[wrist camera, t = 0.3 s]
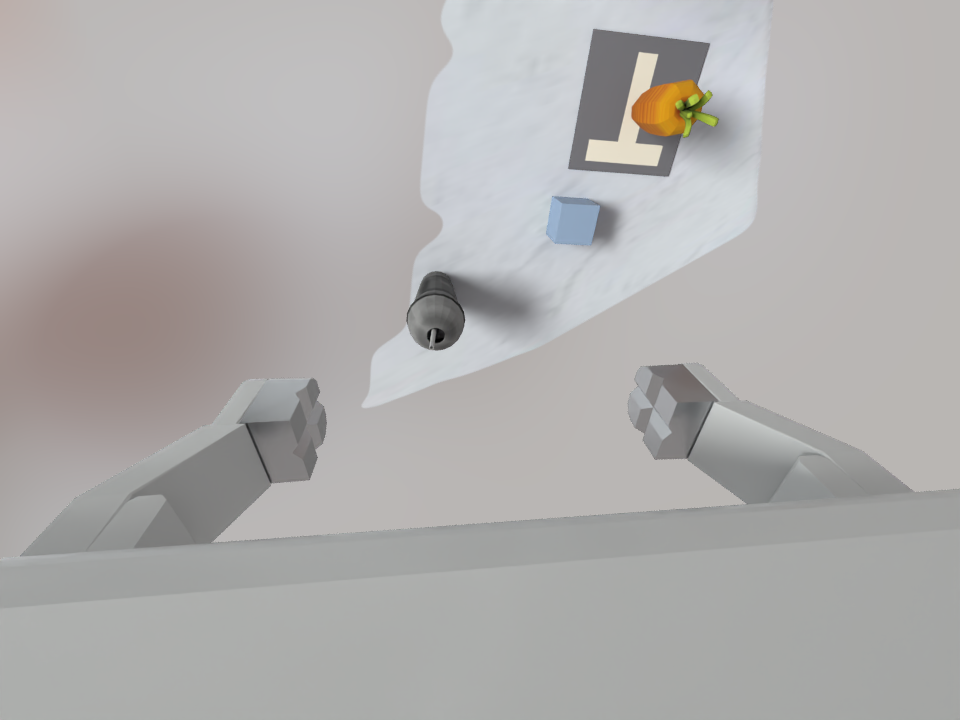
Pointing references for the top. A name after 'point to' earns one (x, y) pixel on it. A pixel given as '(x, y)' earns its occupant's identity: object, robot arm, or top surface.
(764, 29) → the top surface
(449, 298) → the beverage cup
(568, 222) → the slate cube
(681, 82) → the carrot
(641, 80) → the letter mat
